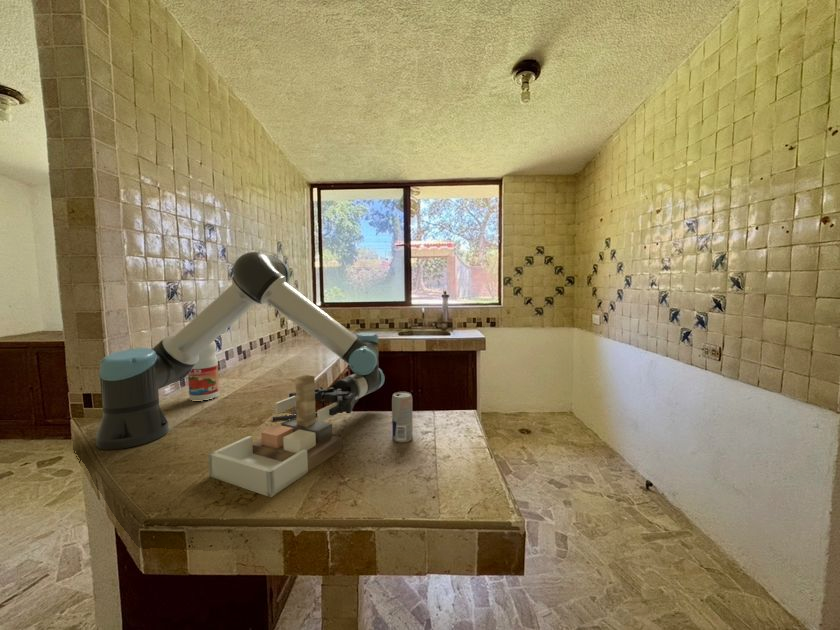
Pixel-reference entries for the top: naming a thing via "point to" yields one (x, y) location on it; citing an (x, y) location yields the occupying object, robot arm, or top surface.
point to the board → (313, 454)
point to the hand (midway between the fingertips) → (296, 412)
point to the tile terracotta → (275, 436)
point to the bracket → (287, 416)
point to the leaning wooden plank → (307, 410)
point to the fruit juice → (204, 375)
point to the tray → (255, 468)
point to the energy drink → (402, 417)
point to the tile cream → (299, 441)
